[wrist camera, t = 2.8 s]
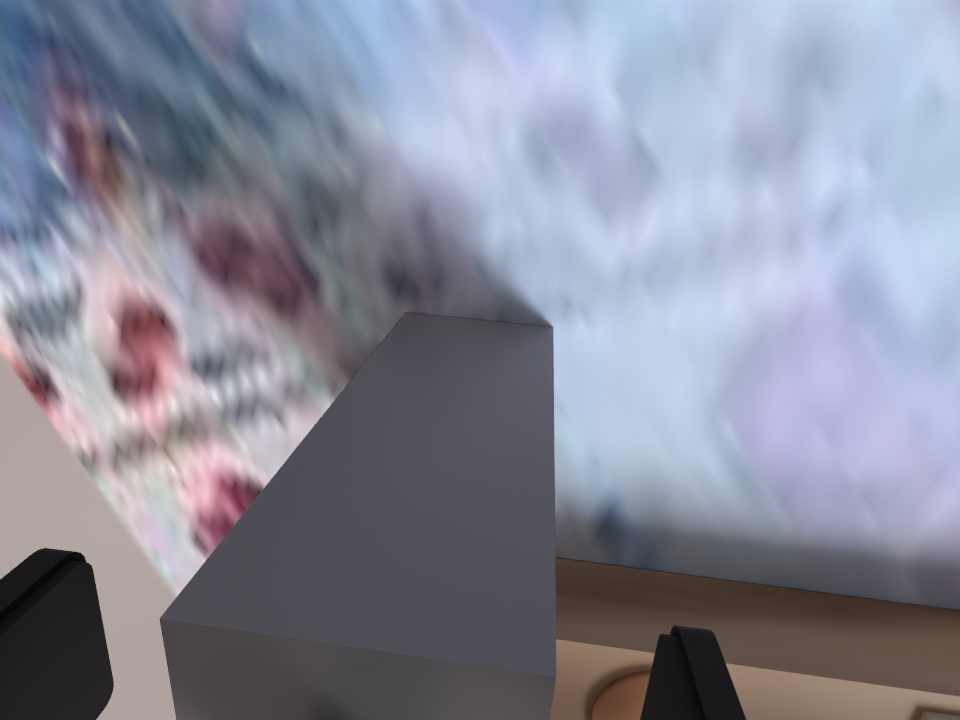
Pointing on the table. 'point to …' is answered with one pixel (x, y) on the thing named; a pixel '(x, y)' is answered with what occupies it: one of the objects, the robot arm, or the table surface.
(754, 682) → the socket block
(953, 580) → the table surface
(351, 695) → the plug
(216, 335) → the table surface
